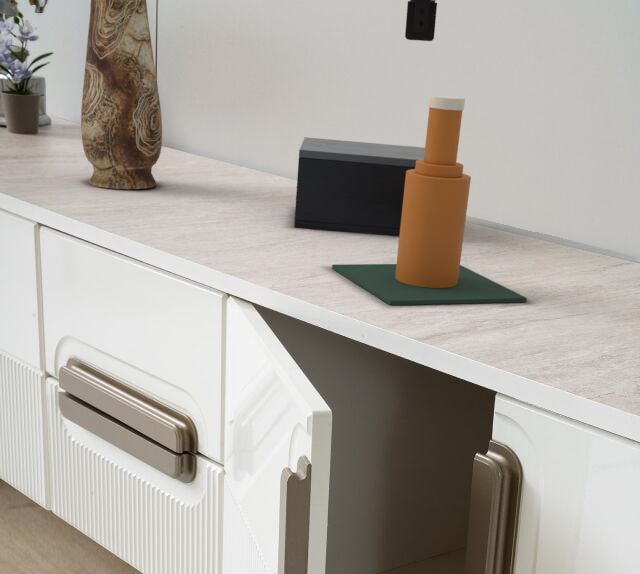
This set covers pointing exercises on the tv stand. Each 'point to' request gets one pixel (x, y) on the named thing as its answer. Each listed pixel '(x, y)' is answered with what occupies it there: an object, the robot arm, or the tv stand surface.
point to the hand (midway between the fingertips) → (419, 39)
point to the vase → (120, 96)
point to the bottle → (435, 203)
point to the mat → (397, 293)
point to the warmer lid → (361, 152)
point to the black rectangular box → (349, 196)
